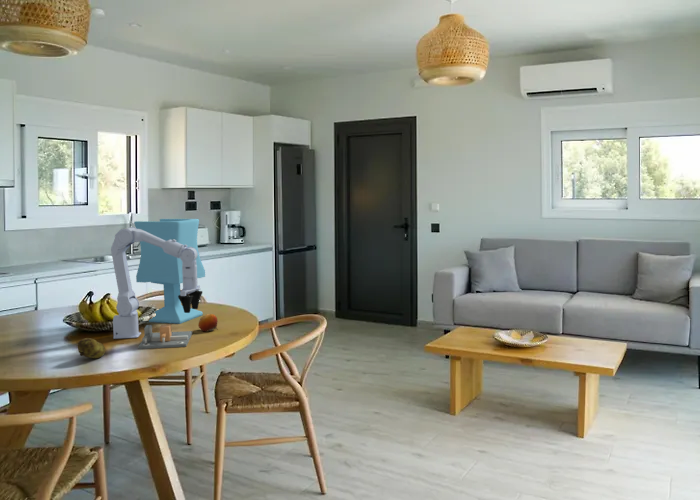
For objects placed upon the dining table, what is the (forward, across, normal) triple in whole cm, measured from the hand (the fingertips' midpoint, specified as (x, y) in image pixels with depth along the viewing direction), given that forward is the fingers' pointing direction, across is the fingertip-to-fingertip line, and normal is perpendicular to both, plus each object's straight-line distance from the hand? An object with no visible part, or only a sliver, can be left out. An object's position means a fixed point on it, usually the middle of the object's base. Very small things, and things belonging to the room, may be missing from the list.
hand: (191, 310), depth 266 cm
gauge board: (+10, -10, +6) cm, 16 cm away
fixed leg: (+9, -17, +11) cm, 22 cm away
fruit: (+10, +10, -3) cm, 14 cm away
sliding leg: (+9, -15, +4) cm, 18 cm away
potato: (+10, -38, +21) cm, 44 cm away
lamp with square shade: (+10, +31, +23) cm, 40 cm away
